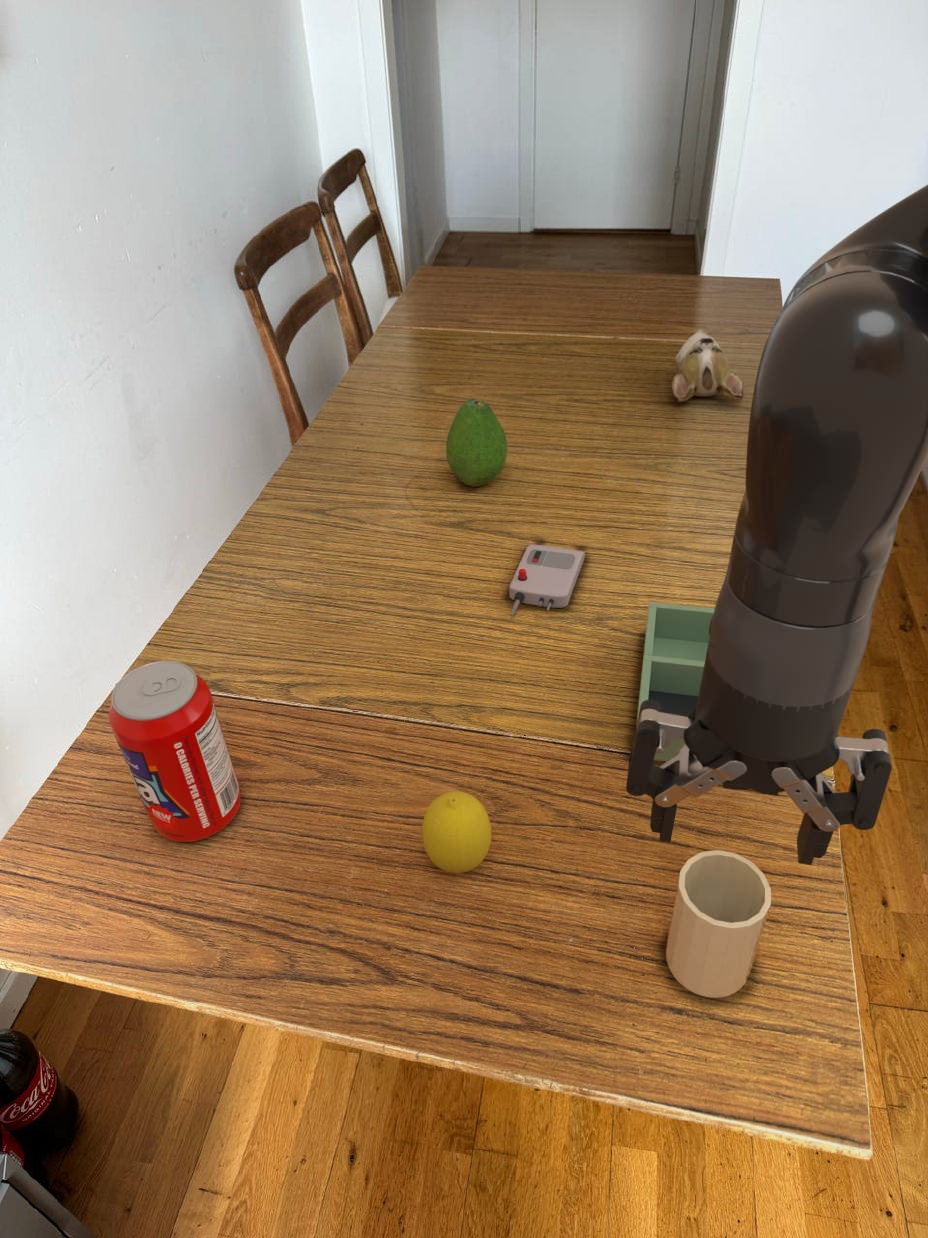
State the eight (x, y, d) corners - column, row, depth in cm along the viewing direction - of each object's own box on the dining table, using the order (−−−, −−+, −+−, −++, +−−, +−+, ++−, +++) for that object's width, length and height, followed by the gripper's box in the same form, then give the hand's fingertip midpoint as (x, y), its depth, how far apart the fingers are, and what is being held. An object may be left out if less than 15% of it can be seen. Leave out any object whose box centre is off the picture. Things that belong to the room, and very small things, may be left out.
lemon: (451, 825, 76) (446, 762, 71) (505, 855, 73) (504, 792, 68) (411, 871, 73) (403, 808, 68) (467, 904, 70) (462, 841, 65)
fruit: (492, 462, 124) (490, 381, 117) (517, 488, 119) (517, 405, 111) (439, 475, 122) (433, 394, 114) (462, 503, 116) (458, 418, 109)
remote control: (587, 549, 107) (589, 528, 105) (558, 630, 95) (559, 608, 94) (534, 541, 109) (534, 521, 107) (498, 620, 97) (498, 598, 95)
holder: (736, 771, 79) (744, 735, 76) (632, 757, 81) (636, 721, 78) (734, 645, 92) (741, 610, 89) (645, 635, 94) (649, 601, 91)
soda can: (250, 831, 76) (212, 706, 67) (157, 860, 74) (104, 736, 65) (235, 767, 82) (198, 644, 73) (148, 792, 80) (98, 669, 71)
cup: (762, 950, 66) (785, 878, 60) (728, 1014, 62) (748, 944, 57) (688, 908, 69) (702, 836, 63) (651, 967, 65) (663, 896, 60)
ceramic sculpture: (736, 317, 138) (753, 362, 127) (728, 369, 144) (744, 416, 133) (666, 319, 139) (678, 364, 128) (661, 370, 145) (671, 418, 134)
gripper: (639, 683, 45) (616, 872, 55) (941, 721, 42) (858, 913, 53) (648, 594, 51) (626, 781, 61) (916, 622, 48) (845, 813, 58)
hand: (733, 842), depth 57 cm, fingers open, 8 cm apart
